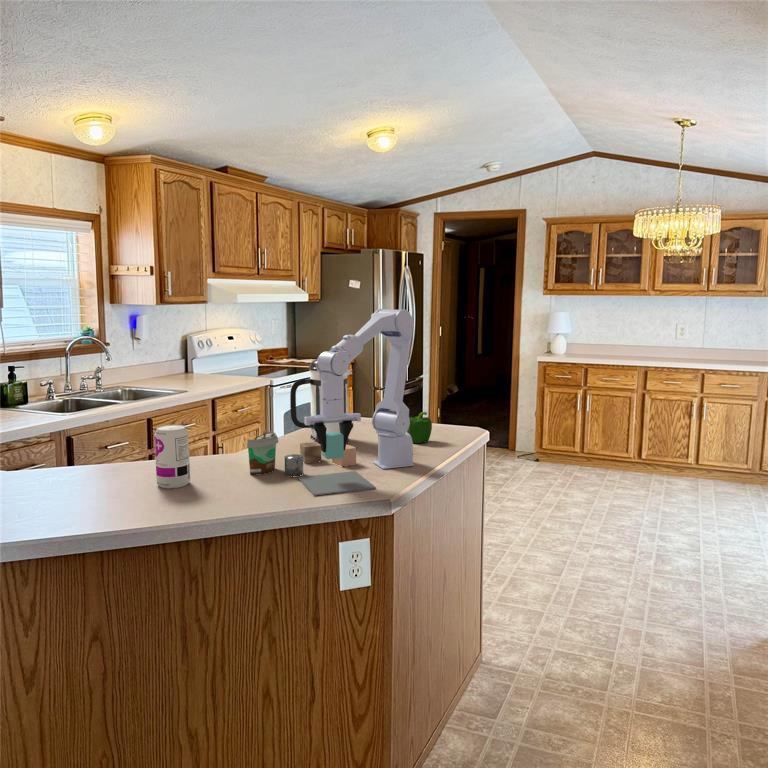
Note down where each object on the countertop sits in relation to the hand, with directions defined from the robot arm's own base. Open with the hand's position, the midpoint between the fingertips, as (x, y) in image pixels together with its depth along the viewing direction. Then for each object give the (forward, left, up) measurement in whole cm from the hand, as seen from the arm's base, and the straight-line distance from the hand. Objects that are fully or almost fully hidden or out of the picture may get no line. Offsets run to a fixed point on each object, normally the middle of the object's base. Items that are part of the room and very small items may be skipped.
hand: (333, 450), depth 173 cm
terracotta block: (-8, -16, -9) cm, 20 cm away
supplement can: (+39, -13, -9) cm, 42 cm away
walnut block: (0, -23, -9) cm, 25 cm away
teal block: (0, 0, -2) cm, 2 cm away
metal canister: (+8, -11, -8) cm, 16 cm away
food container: (+14, -17, -9) cm, 24 cm away
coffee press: (-11, -45, -9) cm, 47 cm away
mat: (0, +2, -8) cm, 9 cm away
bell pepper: (-39, -33, -9) cm, 52 cm away
